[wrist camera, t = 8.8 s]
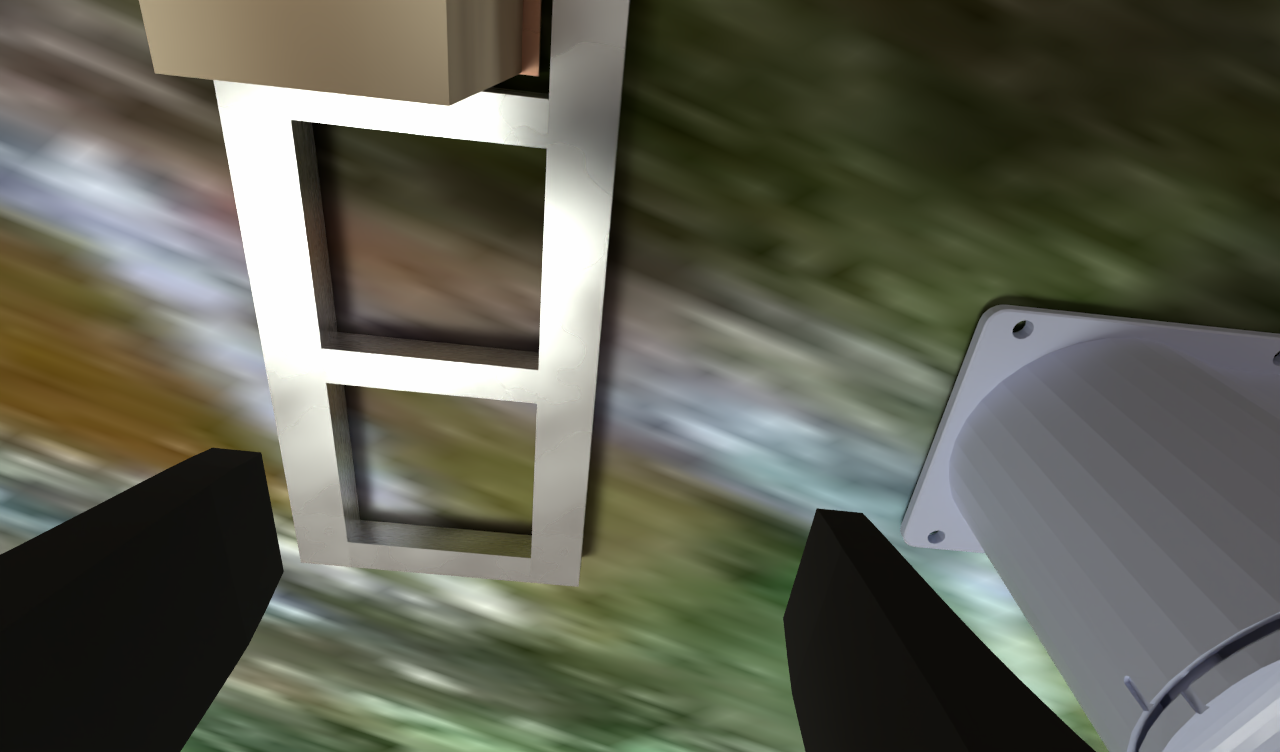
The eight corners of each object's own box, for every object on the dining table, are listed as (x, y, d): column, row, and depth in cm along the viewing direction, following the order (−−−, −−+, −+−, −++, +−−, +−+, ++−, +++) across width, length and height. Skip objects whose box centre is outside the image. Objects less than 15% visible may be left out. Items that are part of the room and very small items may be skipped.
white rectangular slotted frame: (655, -287, 12) (656, -311, 11) (581, 563, 22) (578, 586, 21) (168, -356, 12) (129, -386, 11) (315, 539, 21) (301, 562, 20)
